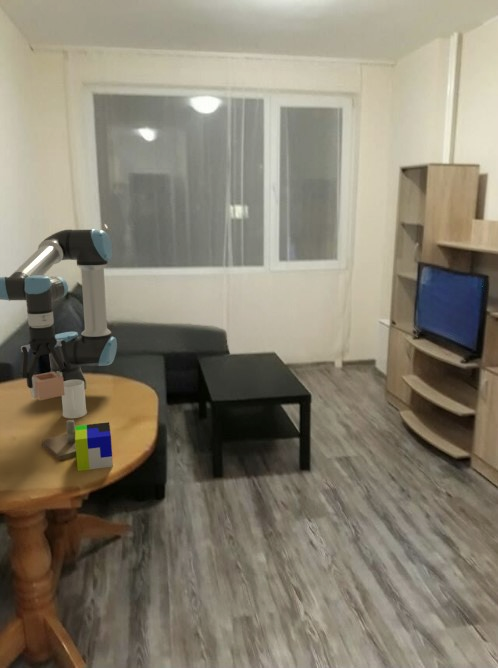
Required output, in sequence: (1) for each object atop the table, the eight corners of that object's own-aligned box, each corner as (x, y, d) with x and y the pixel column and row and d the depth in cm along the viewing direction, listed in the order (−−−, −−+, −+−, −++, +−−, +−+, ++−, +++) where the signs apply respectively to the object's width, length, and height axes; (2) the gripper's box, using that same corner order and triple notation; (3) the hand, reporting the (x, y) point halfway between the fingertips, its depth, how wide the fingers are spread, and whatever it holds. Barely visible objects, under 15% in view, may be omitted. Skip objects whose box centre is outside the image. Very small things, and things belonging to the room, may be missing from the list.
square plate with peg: (83, 432, 185) (81, 409, 183) (102, 446, 175) (100, 422, 173) (42, 445, 176) (39, 420, 174) (60, 460, 166) (57, 434, 164)
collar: (55, 388, 183) (53, 371, 181) (64, 395, 177) (63, 377, 175) (30, 393, 178) (29, 376, 176) (39, 400, 172) (38, 382, 170)
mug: (84, 421, 194) (82, 389, 191) (59, 423, 193) (56, 391, 190) (88, 408, 206) (85, 378, 203) (64, 410, 204) (61, 379, 201)
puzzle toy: (112, 466, 163) (110, 435, 160) (77, 471, 160) (75, 439, 158) (111, 451, 172) (109, 422, 170) (77, 455, 169) (75, 425, 167)
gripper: (10, 332, 162) (18, 404, 168) (78, 322, 175) (83, 389, 181) (2, 328, 168) (10, 397, 173) (68, 318, 181) (74, 383, 186)
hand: (47, 393), depth 177 cm, fingers closed on collar, 8 cm apart
